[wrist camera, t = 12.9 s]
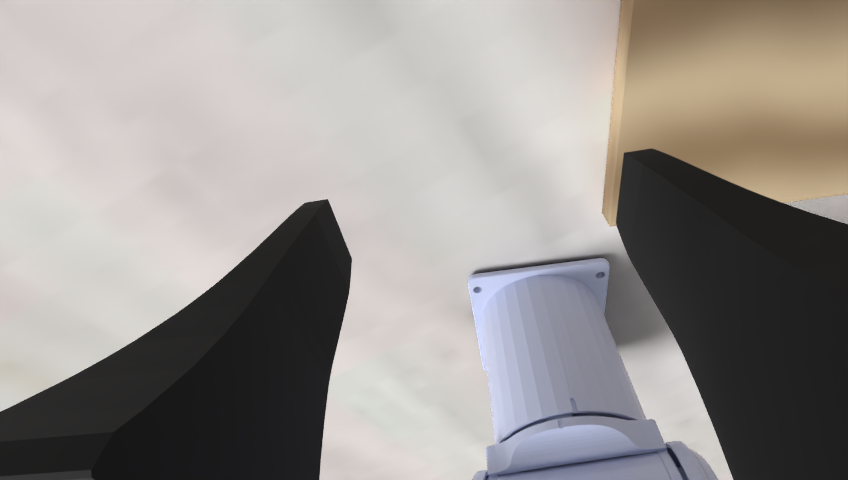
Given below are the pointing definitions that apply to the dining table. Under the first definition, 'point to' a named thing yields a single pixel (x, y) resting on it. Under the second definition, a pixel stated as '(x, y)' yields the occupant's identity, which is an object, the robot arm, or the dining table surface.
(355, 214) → the dining table surface
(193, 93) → the dining table surface
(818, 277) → the robot arm
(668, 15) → the board
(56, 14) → the dining table surface
